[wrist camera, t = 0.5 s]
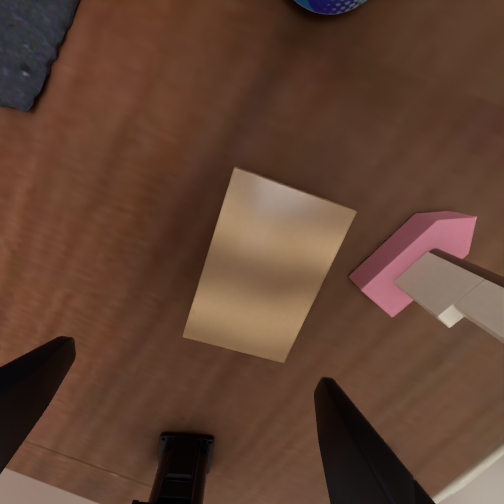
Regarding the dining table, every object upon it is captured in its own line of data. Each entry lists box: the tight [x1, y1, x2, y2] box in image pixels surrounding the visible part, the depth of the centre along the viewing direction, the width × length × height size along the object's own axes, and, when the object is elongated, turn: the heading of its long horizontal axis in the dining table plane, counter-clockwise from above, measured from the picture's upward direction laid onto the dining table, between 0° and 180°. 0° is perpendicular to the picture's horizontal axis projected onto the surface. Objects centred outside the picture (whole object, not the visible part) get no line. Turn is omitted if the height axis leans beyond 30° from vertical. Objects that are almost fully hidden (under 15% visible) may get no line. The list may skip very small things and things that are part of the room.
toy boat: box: [348, 211, 504, 343], centre depth 17 cm, size 10×4×13 cm, turn 139°
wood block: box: [183, 167, 357, 363], centre depth 21 cm, size 14×9×4 cm, turn 161°
